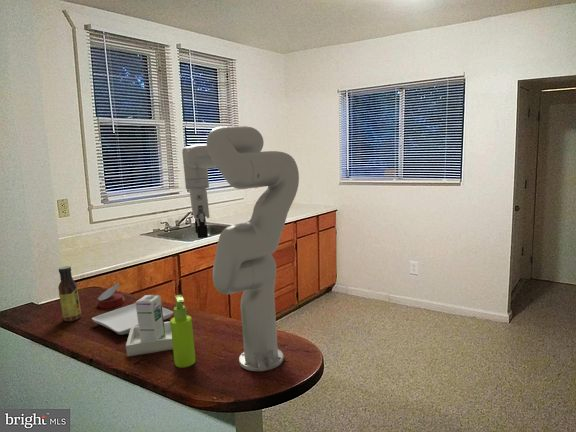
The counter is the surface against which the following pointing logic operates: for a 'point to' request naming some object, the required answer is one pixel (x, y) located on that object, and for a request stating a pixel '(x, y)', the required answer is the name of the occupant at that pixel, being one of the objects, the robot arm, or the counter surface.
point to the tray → (148, 342)
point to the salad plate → (123, 319)
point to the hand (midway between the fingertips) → (201, 234)
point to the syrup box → (150, 318)
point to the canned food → (111, 298)
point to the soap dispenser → (182, 335)
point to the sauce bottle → (68, 295)
